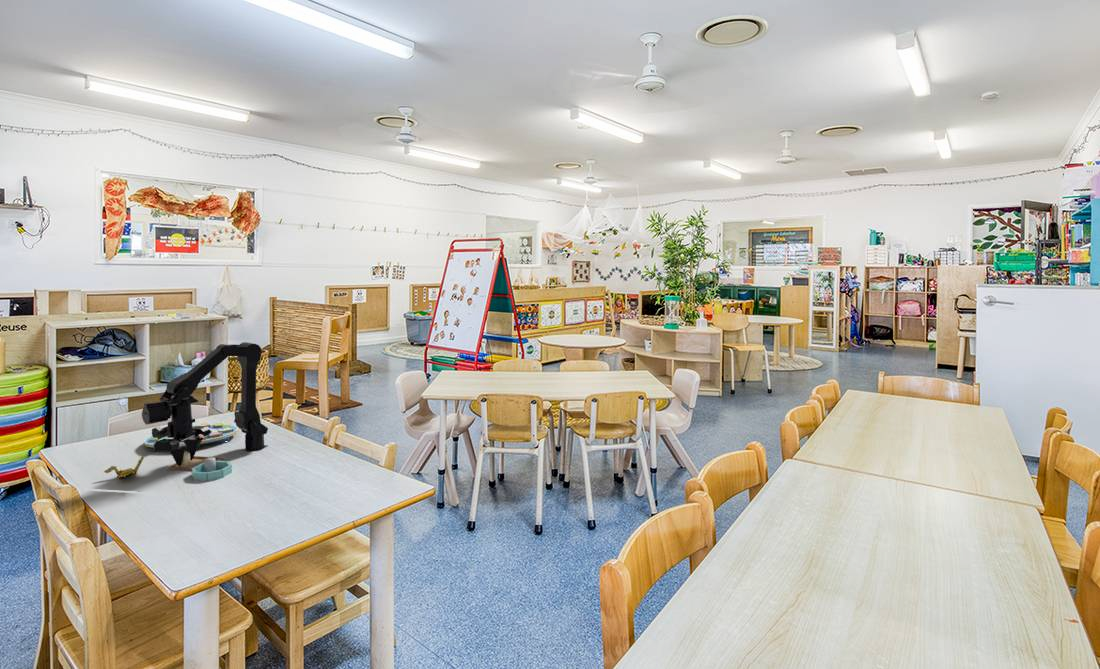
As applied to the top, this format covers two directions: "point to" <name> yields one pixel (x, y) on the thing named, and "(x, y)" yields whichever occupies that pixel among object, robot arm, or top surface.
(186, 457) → the sand beige cylinder
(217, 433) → the shape sorting clock
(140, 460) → the olive plastic animal figure
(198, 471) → the bowl
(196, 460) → the parts tray
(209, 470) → the grey rounded cylinder
